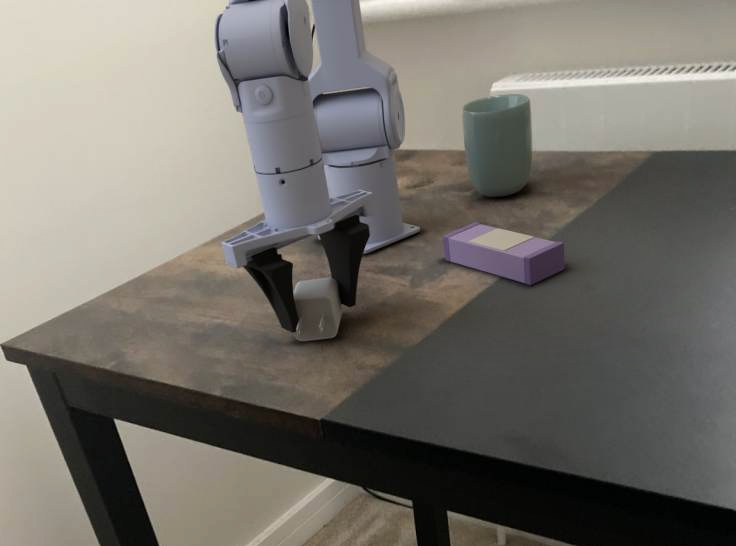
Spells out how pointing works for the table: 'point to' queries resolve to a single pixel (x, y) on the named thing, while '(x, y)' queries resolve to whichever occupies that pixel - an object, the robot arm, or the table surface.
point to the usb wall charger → (317, 309)
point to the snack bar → (504, 253)
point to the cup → (498, 143)
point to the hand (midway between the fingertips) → (318, 316)
